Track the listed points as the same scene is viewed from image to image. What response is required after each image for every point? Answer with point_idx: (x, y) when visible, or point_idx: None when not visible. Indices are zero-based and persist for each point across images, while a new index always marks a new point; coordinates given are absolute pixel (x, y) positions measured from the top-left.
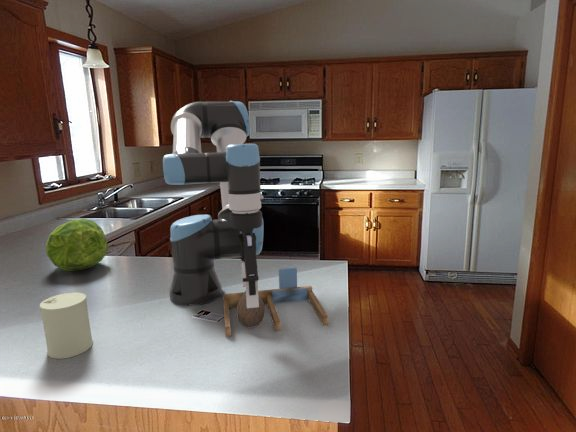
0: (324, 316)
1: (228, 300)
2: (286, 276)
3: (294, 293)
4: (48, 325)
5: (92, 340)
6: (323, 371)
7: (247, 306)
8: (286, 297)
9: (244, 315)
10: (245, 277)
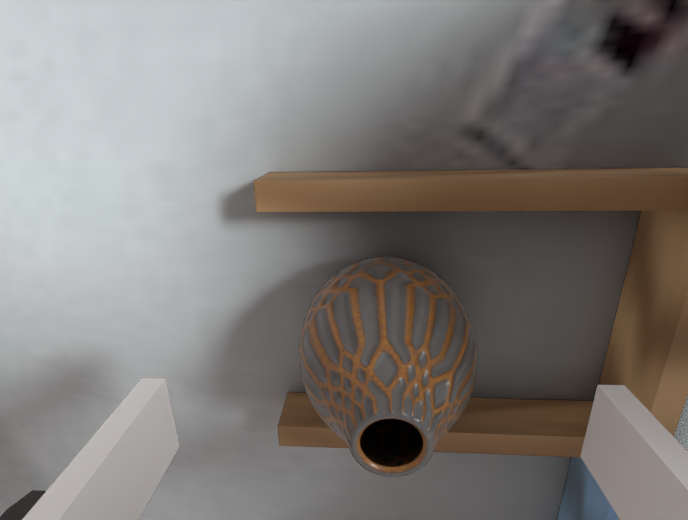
0: None
1: (678, 211)
2: None
3: None
4: None
5: None
6: (10, 471)
7: (133, 390)
8: (577, 503)
9: (309, 309)
10: (649, 482)
